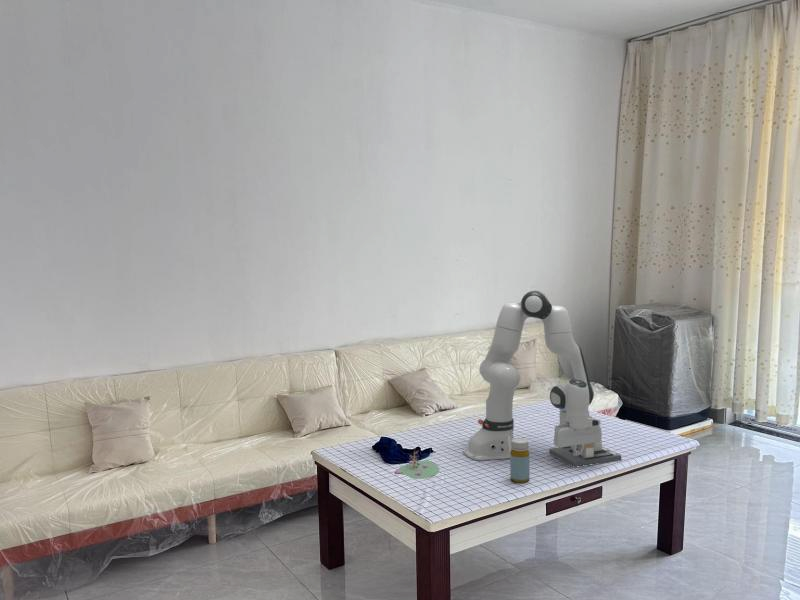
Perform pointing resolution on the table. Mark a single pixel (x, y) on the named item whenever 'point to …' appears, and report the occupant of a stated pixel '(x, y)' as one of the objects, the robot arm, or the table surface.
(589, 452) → the switch
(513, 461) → the bottle
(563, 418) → the light bulb box
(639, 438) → the table surface
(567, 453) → the switch panel
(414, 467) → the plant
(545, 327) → the robot arm
